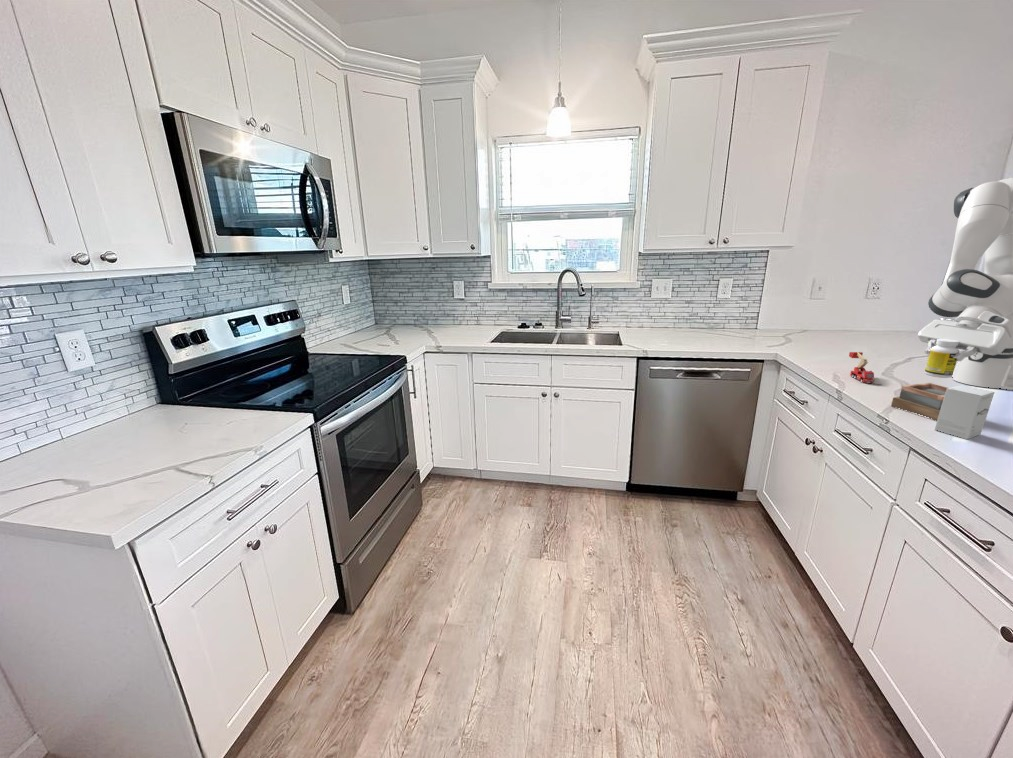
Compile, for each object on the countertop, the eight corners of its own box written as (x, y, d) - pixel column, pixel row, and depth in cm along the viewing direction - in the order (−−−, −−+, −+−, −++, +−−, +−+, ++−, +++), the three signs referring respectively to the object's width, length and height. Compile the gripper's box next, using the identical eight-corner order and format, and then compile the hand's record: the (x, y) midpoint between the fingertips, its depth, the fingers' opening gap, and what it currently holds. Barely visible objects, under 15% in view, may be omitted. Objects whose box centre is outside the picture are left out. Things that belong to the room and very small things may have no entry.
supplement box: (968, 440, 117) (982, 395, 114) (933, 430, 124) (945, 387, 120) (982, 435, 120) (996, 391, 116) (947, 425, 127) (959, 384, 123)
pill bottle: (946, 379, 130) (957, 343, 127) (920, 374, 135) (929, 339, 132) (955, 376, 133) (966, 340, 129) (929, 371, 138) (938, 337, 135)
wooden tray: (922, 402, 144) (928, 381, 142) (970, 416, 132) (977, 394, 130) (891, 406, 142) (896, 385, 140) (936, 421, 130) (943, 398, 128)
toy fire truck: (863, 383, 164) (869, 359, 161) (844, 373, 177) (849, 350, 174) (873, 384, 164) (879, 359, 161) (853, 374, 176) (859, 350, 174)
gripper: (933, 310, 140) (901, 342, 141) (1017, 321, 120) (979, 357, 121) (940, 323, 142) (908, 354, 143) (1023, 336, 123) (986, 372, 124)
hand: (941, 356), depth 132 cm, fingers closed on pill bottle, 6 cm apart
